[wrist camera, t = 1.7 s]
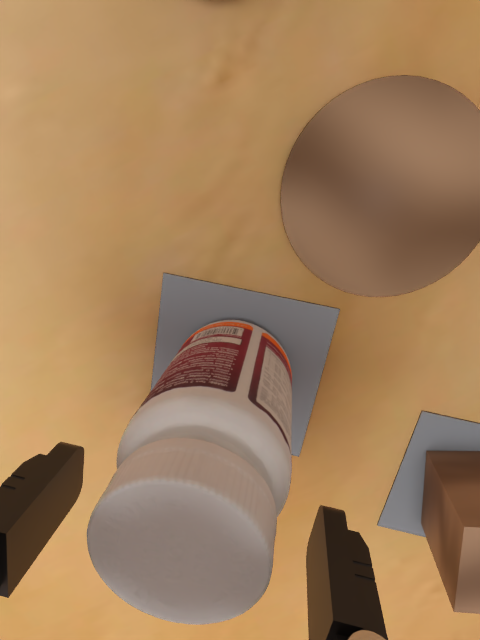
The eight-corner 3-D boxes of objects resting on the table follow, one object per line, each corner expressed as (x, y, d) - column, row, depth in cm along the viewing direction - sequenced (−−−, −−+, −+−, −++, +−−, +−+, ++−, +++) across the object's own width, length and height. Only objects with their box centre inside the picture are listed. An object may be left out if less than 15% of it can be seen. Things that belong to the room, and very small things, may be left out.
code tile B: (422, 410, 20) (422, 412, 20) (580, 445, 20) (581, 446, 20) (377, 524, 23) (377, 526, 23) (515, 558, 23) (516, 559, 22)
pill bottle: (161, 385, 22) (35, 573, 11) (211, 294, 20) (113, 420, 9) (256, 438, 22) (221, 669, 12) (315, 354, 20) (338, 543, 9)
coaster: (306, 62, 16) (306, 58, 16) (530, 99, 15) (539, 95, 15) (264, 273, 19) (263, 276, 19) (449, 310, 19) (454, 314, 18)
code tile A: (163, 272, 20) (163, 273, 20) (339, 309, 19) (340, 309, 19) (147, 420, 23) (147, 421, 23) (299, 455, 22) (299, 457, 22)
